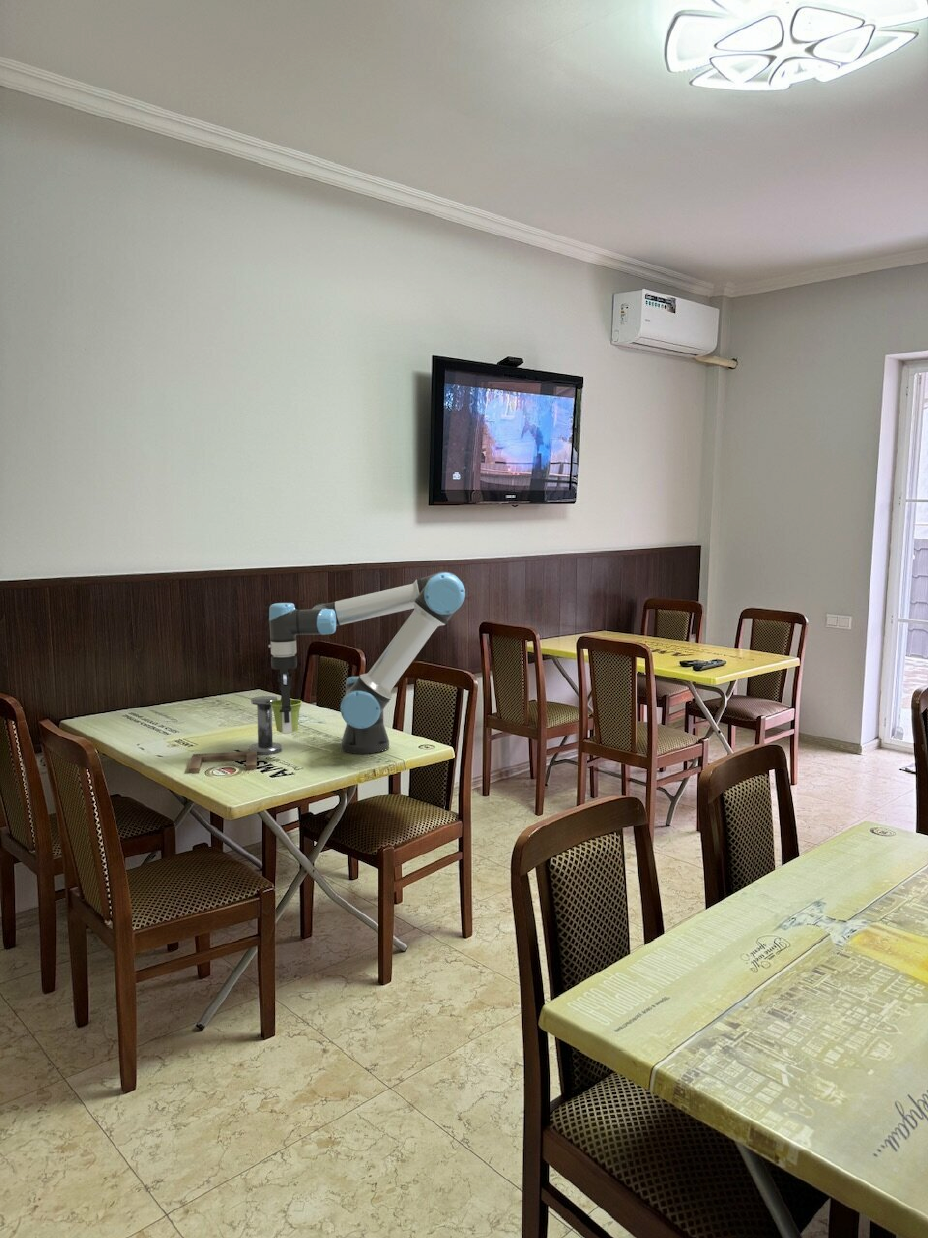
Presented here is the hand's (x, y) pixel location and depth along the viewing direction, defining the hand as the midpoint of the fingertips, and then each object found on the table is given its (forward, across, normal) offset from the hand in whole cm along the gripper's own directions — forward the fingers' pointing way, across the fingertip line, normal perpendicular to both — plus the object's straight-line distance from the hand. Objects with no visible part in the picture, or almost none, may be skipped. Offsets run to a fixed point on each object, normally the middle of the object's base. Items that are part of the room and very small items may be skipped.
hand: (286, 729), depth 267 cm
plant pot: (+1, 0, 0) cm, 1 cm away
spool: (+9, -12, -7) cm, 17 cm away
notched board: (+9, +1, -19) cm, 21 cm away
